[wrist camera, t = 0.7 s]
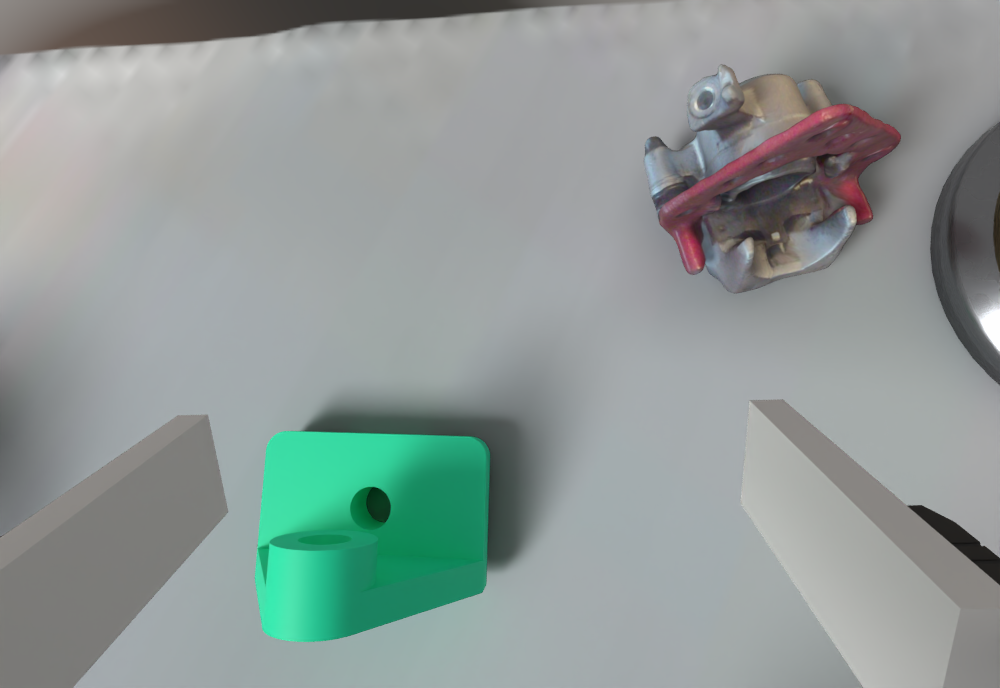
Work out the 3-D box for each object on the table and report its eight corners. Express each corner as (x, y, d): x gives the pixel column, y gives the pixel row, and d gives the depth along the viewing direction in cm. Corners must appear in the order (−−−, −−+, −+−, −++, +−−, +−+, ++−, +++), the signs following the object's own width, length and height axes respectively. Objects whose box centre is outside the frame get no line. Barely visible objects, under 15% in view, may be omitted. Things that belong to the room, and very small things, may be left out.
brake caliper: (695, 354, 28) (689, 129, 20) (626, 240, 36) (602, 47, 28) (919, 288, 28) (1006, 28, 20) (798, 187, 36) (824, -27, 28)
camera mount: (493, 436, 32) (459, 440, 21) (489, 578, 30) (451, 653, 20) (291, 430, 33) (170, 431, 23) (279, 566, 32) (147, 630, 22)
